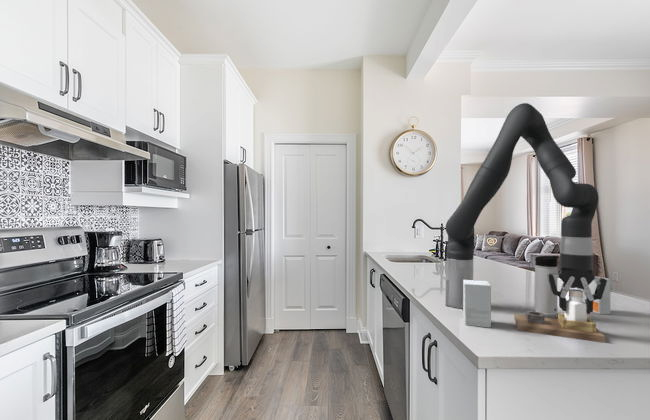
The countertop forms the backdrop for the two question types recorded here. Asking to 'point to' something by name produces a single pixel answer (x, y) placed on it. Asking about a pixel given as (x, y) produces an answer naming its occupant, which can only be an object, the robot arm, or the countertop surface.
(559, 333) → the brown wooden flat board
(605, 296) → the skincare box
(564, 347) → the countertop surface
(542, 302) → the travel mug
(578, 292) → the pepper shaker
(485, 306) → the supplement box
